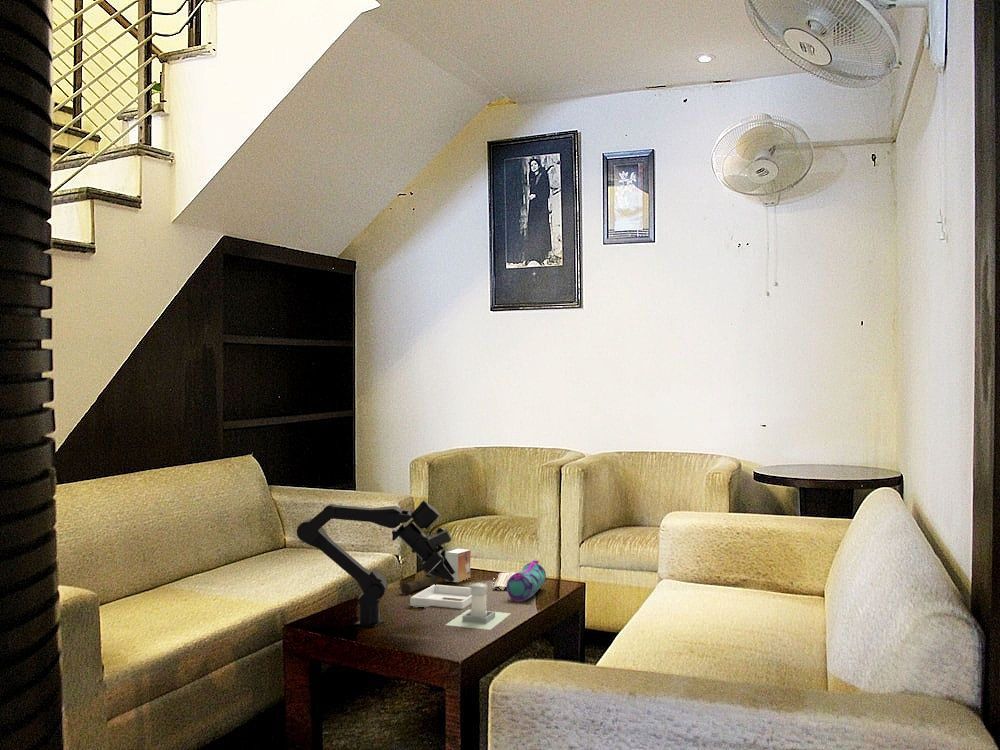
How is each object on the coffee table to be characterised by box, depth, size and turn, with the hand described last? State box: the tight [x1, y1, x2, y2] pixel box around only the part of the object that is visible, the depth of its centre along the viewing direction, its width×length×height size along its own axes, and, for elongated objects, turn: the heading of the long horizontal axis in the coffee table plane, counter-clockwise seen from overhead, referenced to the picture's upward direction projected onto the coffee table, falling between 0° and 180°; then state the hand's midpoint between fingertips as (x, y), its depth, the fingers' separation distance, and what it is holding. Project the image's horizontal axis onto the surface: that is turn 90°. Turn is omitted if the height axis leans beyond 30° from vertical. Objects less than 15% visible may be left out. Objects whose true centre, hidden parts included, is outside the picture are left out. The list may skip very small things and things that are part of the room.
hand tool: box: [400, 573, 439, 595], centre depth 293 cm, size 19×4×5 cm, turn 146°
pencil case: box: [505, 559, 547, 603], centre depth 284 cm, size 21×9×10 cm, turn 164°
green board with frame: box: [445, 608, 512, 631], centre depth 252 cm, size 18×14×2 cm
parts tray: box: [409, 584, 472, 610], centre depth 275 cm, size 18×18×3 cm
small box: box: [445, 548, 471, 583], centre depth 306 cm, size 8×6×10 cm
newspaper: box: [492, 572, 517, 591], centre depth 300 cm, size 23×12×2 cm, turn 174°
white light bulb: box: [470, 582, 488, 618], centre depth 252 cm, size 5×5×10 cm
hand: (453, 576), depth 251 cm, fingers open, 9 cm apart
